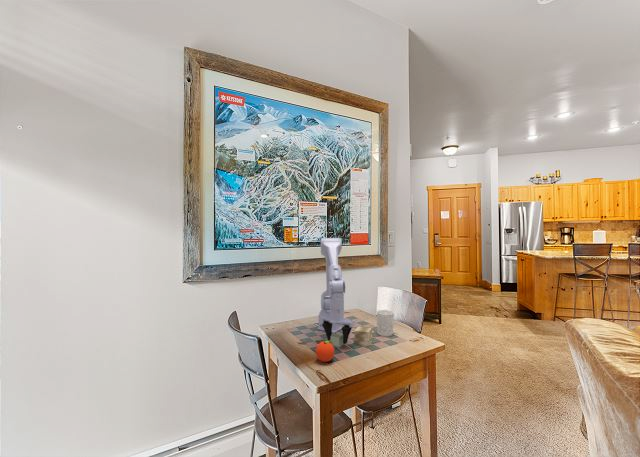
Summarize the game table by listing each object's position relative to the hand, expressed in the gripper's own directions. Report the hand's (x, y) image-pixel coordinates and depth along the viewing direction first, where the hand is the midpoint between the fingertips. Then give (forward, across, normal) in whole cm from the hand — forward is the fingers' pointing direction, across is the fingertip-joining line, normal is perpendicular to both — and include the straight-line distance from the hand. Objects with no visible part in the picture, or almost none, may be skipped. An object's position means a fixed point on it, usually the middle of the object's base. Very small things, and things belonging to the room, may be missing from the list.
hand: (337, 341), depth 123 cm
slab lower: (+2, +8, +8) cm, 12 cm away
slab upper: (-1, +8, +8) cm, 12 cm away
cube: (+2, 0, 0) cm, 2 cm away
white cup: (+2, +12, +23) cm, 26 cm away
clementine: (+2, +4, -15) cm, 16 cm away
